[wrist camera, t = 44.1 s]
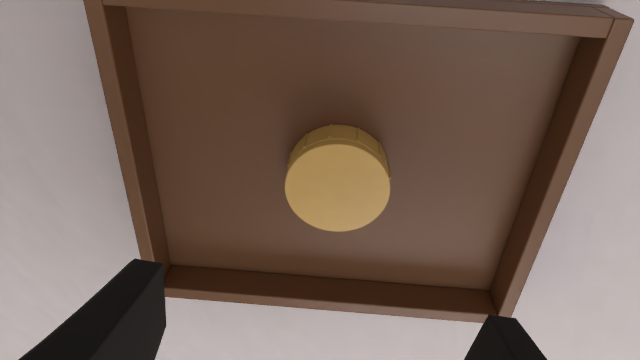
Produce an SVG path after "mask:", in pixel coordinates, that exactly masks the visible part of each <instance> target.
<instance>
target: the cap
mask: <svg viewBox="0 0 640 360" xmlns="http://www.w3.org/2000/svg"><path fill="white" fill-rule="evenodd" d="M287 167H288V170H287V174H286V179H285V194H286V198H287V201H288V203H289V205H290V207H291V208H292V210H293V211H294V212H295V213H296V215H297V216H298V217H300V218H301V219H302V220H303V221H305V222H306V223H308V224H310V225H312V226H314V227H316V228H319V229H322V230H327V231H335V232H342V231H350V230H354V229H358V228H361V227H363V226H365V225H367V224H369V223H370V222H372V221H373V220H374V219H376V218H377V217H378V216H379V215H380V214H381V213H382V211H383V210H384V208H385V207H386V205H387V202H388V200H389V196H390V179H391V174H390V166H389V164H387V158H386V155H385V152H384V151H383V149H382V147H381V143H380V142H377V141H376V140H375V139H374V138H373V137H372V136H371V135H370V134H368V133H366V132H365V131H363V130H361V129H360V128H359V127H357V128H355V127H352V126H347V125H332V124H330V125H328V126H324V127H320V128H317V129H315V130H313V131H311V132H310V133H308V134H307V133H306V134H305V136H304V137H303V138H302V139H301V140H300V141H299V142H298V143H297V145H296V146H295V148H294V150H293V152H290V156H289V160H288V164H287Z"/></svg>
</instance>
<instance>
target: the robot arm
mask: <svg viewBox="0 0 640 360" xmlns="http://www.w3.org/2000/svg"><path fill="white" fill-rule="evenodd" d="M165 327H166V312H165V290H164V269H163V263H159V262H152V261H146V260H140V259H134V260H132V261H131V262H130V263H128V264H127V265H126V266H125V267H124V268H123V269H122V270H121V271H120V272H119V273H118V274H117V275H116V276H115V277H114V278H113V279H111V280H110V281H109V282H108V283H107V284H106V285H105V286H104V287H103V288H102V289H101V290H100V291H99V292H97V293H96V294H95V295H94V296H93V297H92V298H91V299H90V300H89V301H87V302H86V303H85V304H84V305H83V306H82V307H81V308H80V309H79V310H77V311H76V312H75V313H74V314H73V315H72V316H70V317H69V318H68V319H67V320H66V321H65V322H64V323H62V324H61V325H60V326H59V327H58V328H57V329H55V330H54V331H53V332H52V333H51V334H50V335H48V336H47V337H46V338H45V339H44V340H42V341H41V342H40V343H39V344H38V345H36V346H35V347H34V348H33V349H31V350H30V351H29V352H27V353H26V354H25V355H24V356H22V357H21V358H20V359H19V360H155V357H156V354H157V351H158V348H159V345H160V342H161V339H162V336H163V333H164V330H165ZM464 360H547V359H546V357H545V356H544V355H543V353H542V352H541V351H540V350H539V348H538V347H537V346H536V344H535V343H534V342H533V340H532V339H531V338H530V336H529V335H528V334H527V332H526V331H525V330H524V328H523V327H522V326H521V325H520V323H519V322H518V321H517V320H516V318H510V317H504V316H497V315H491V314H488V316H487V318H486V320H485V322H484V324H483V326H482V327H481V329H480V331H479V333H478V335H477V337H476V338H475V340H474V342H473V344H472V346H471V348H470V350H469V351H468V353H467V355H466V357H465V359H464Z"/></svg>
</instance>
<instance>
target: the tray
mask: <svg viewBox="0 0 640 360" xmlns="http://www.w3.org/2000/svg"><path fill="white" fill-rule="evenodd" d="M83 1H84V5H85V10H86V14H87V19H88V23H89V28H90V32H91V36H92V41H93V45H94V50H95V54H96V59H97V63H98V68H99V72H100V77H101V81H102V86H103V90H104V95H105V99H106V104H107V108H108V113H109V117H110V122H111V126H112V131H113V135H114V140H115V144H116V149H117V153H118V158H119V162H120V167H121V171H122V176H123V180H124V185H125V189H126V194H127V198H128V202H129V207H130V211H131V216H132V220H133V225H134V229H135V234H136V238H137V243H138V247H139V252H140V256H141V260H146V261H152V262H159V263H163V269H164V290H165V297H174V298H186V299H198V300H210V301H222V302H234V303H247V304H259V305H271V306H283V307H295V308H307V309H319V310H332V311H344V312H356V313H368V314H380V315H392V316H405V317H417V318H429V319H441V320H453V321H465V322H477V323H484V322H485V320H486V318H487V316H488V314H491V315H497V316H504V317H510V318H511V316H512V313H513V311H514V309H515V306H516V304H517V301H518V299H519V297H520V294H521V292H522V289H523V287H524V285H525V282H526V280H527V277H528V275H529V273H530V270H531V268H532V265H533V263H534V261H535V258H536V256H537V253H538V251H539V249H540V246H541V244H542V241H543V239H544V237H545V234H546V232H547V229H548V227H549V225H550V222H551V220H552V217H553V215H554V213H555V210H556V208H557V205H558V203H559V201H560V198H561V196H562V193H563V191H564V189H565V186H566V184H567V181H568V179H569V177H570V174H571V172H572V169H573V167H574V165H575V162H576V160H577V157H578V155H579V152H580V150H581V148H582V145H583V143H584V140H585V138H586V136H587V133H588V131H589V128H590V126H591V124H592V121H593V119H594V116H595V114H596V112H597V109H598V107H599V104H600V102H601V100H602V97H603V95H604V92H605V90H606V88H607V85H608V83H609V80H610V78H611V76H612V73H613V71H614V68H615V66H616V64H617V61H618V59H619V56H620V54H621V52H622V49H623V47H624V44H625V42H626V40H627V37H628V35H629V32H630V30H631V28H632V25H633V23H634V19H632V18H630V17H628V16H626V15H624V14H621V13H619V12H617V11H615V10H612V9H610V8H609V7H606V6H604V5H590V4H574V3H559V2H544V1H528V0H83ZM330 124H332V125H347V126H352V127H355V128H357V127H359V128H360V129H361V130H363V131H365V132H366V133H368V134H370V135H371V136H372V137H373V138H374V139H375V140H376V141H377V142H380V143H381V147H382V149H383V151H384V152H385V155H386V158H387V164H389V166H390V174H391V179H390V196H389V200H388V202H387V205H386V207H385V208H384V210H383V211H382V213H381V214H380V215H379V216H378V217H377V218H376V219H374V220H373V221H372V222H370V223H369V224H367V225H365V226H363V227H361V228H358V229H354V230H350V231H342V232H335V231H327V230H322V229H319V228H316V227H314V226H312V225H310V224H308V223H306V222H305V221H303V220H302V219H301V218H300V217H298V216H297V215H296V213H295V212H294V211H293V210H292V208H291V207H290V205H289V203H288V201H287V198H286V194H285V179H286V174H287V170H288V167H287V164H288V160H289V156H290V152H293V150H294V148H295V146H296V145H297V143H298V142H299V141H300V140H301V139H302V138H303V137H304V136H305V134H306V133H307V134H308V133H310V132H311V131H313V130H315V129H317V128H320V127H324V126H328V125H330Z"/></svg>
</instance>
